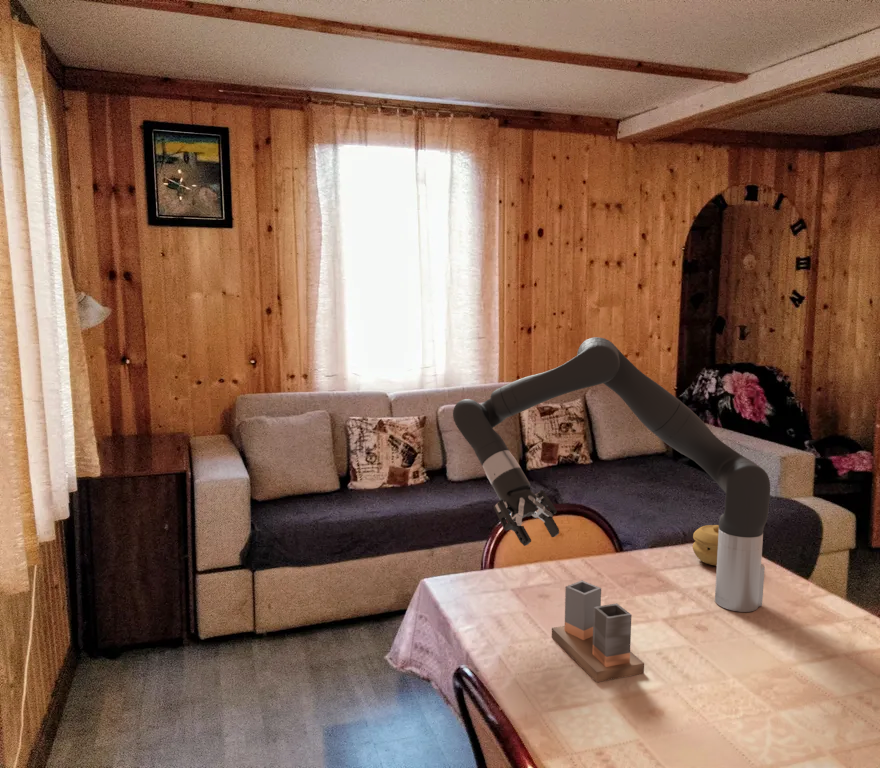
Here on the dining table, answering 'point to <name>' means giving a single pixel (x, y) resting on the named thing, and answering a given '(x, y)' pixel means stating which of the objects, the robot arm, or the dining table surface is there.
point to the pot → (706, 544)
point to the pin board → (603, 645)
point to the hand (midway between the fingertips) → (542, 539)
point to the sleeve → (581, 608)
